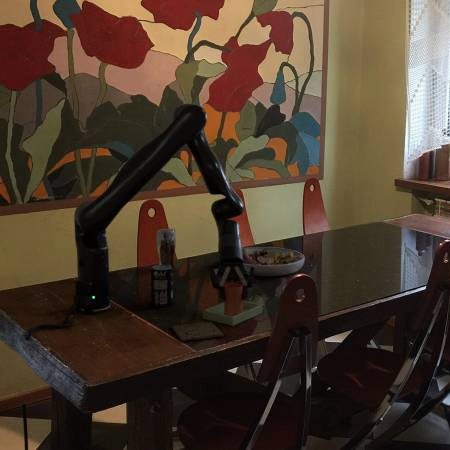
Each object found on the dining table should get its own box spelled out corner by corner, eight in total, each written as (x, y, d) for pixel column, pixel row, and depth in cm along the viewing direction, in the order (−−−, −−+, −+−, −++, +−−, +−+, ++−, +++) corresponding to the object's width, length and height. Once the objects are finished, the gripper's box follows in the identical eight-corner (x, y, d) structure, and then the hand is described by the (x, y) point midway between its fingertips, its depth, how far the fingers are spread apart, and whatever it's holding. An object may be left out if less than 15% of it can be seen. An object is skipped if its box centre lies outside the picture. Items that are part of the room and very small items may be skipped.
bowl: (258, 255, 294) (258, 236, 293) (319, 267, 278) (320, 247, 276) (208, 269, 270) (208, 249, 269) (272, 283, 254) (272, 262, 252)
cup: (235, 318, 214) (235, 289, 213) (220, 314, 217) (220, 285, 216) (246, 313, 219) (246, 284, 217) (231, 309, 222) (231, 281, 220)
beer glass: (179, 269, 269) (179, 230, 266) (167, 273, 264) (166, 233, 261) (166, 266, 273) (165, 227, 270) (153, 270, 267) (152, 230, 264)
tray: (232, 326, 209) (232, 317, 208) (202, 318, 215) (202, 310, 214) (262, 312, 222) (262, 304, 221) (233, 306, 227) (233, 298, 227)
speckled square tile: (171, 327, 206) (170, 324, 205) (211, 323, 210) (211, 320, 210) (181, 341, 195) (181, 338, 195) (224, 336, 200) (224, 333, 199)
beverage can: (164, 299, 232) (164, 263, 230) (176, 304, 228) (176, 267, 225) (147, 303, 228) (146, 266, 225) (159, 308, 223) (158, 270, 221)
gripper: (207, 245, 220) (210, 293, 211) (254, 244, 223) (259, 292, 214) (206, 258, 226) (209, 305, 217) (252, 257, 229) (256, 304, 220)
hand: (234, 299), depth 215 cm, fingers closed on cup, 5 cm apart
